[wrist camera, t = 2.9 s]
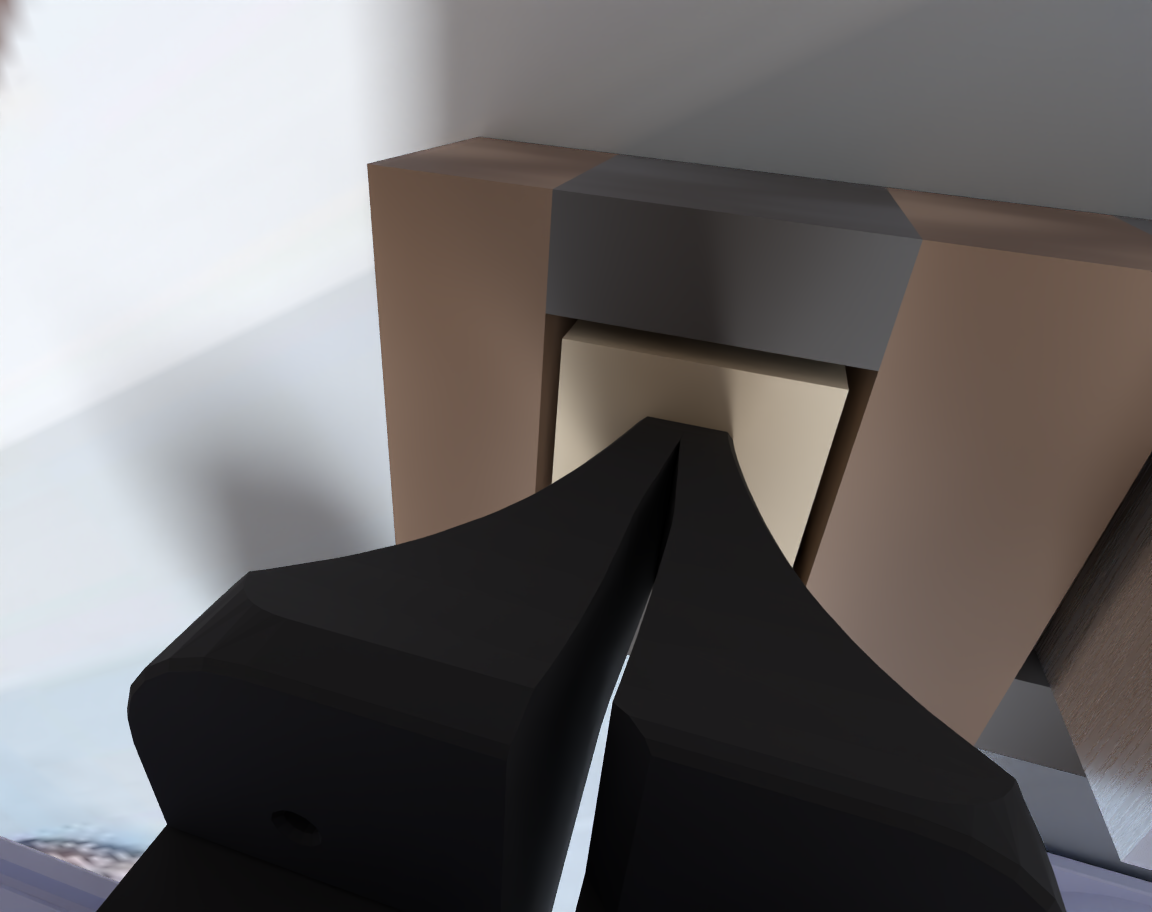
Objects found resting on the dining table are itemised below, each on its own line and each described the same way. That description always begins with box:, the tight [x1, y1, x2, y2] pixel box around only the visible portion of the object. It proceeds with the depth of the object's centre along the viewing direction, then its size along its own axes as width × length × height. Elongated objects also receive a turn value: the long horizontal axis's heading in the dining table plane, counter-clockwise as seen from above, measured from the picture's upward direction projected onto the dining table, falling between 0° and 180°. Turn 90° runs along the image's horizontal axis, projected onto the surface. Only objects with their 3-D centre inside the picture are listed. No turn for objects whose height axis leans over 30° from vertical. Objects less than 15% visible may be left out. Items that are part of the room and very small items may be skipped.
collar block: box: [367, 137, 1152, 777], centre depth 12 cm, size 18×8×4 cm, turn 85°
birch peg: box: [552, 319, 849, 567], centre depth 12 cm, size 4×4×4 cm
